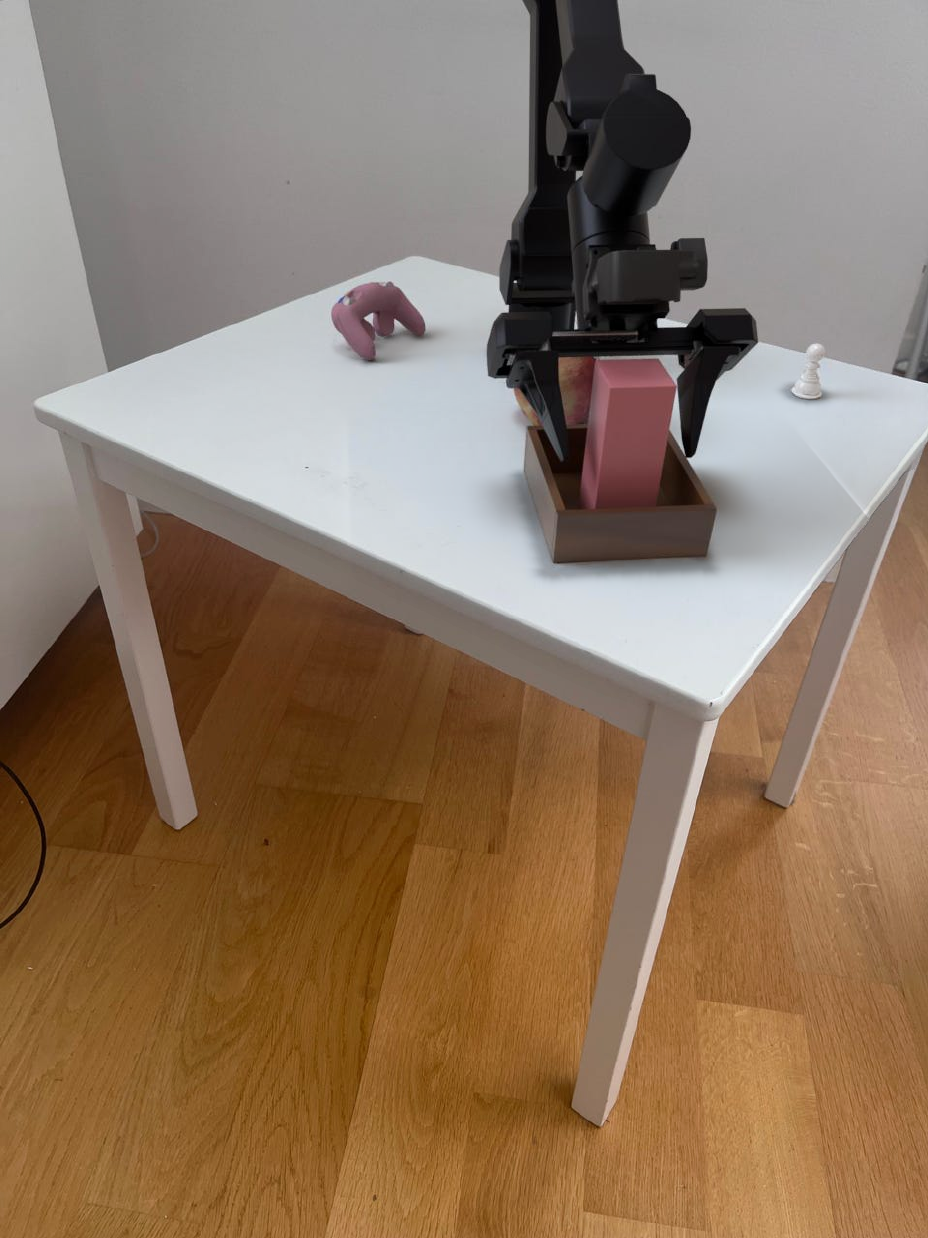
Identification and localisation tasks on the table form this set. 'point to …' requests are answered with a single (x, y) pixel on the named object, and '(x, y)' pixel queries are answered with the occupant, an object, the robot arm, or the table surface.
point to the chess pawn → (810, 374)
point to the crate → (615, 531)
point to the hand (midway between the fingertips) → (628, 458)
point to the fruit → (568, 390)
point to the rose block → (626, 433)
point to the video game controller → (374, 315)
